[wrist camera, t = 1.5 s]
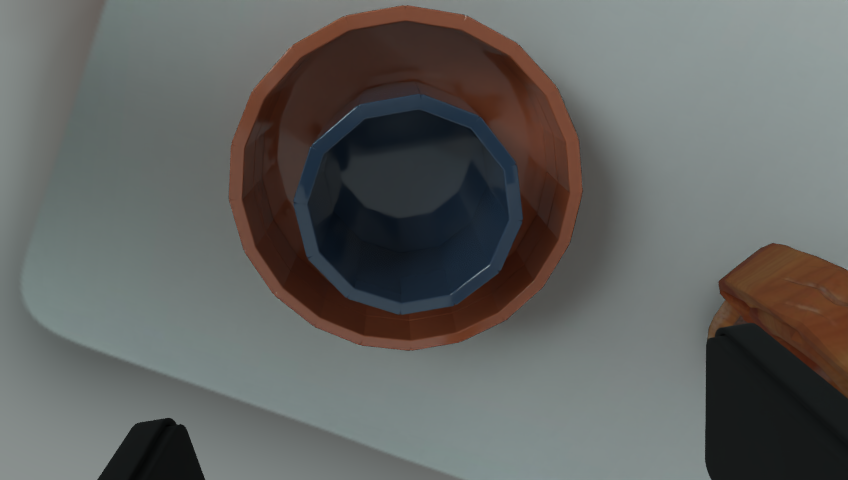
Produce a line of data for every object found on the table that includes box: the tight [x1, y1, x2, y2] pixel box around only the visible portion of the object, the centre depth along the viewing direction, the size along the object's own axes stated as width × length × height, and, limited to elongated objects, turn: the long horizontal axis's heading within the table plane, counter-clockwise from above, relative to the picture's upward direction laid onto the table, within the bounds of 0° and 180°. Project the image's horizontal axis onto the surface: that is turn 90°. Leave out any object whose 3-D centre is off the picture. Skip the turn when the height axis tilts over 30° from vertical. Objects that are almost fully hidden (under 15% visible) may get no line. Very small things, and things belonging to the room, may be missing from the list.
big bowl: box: [229, 5, 583, 351], centre depth 23 cm, size 13×13×4 cm
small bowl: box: [293, 81, 523, 315], centre depth 22 cm, size 8×8×6 cm
